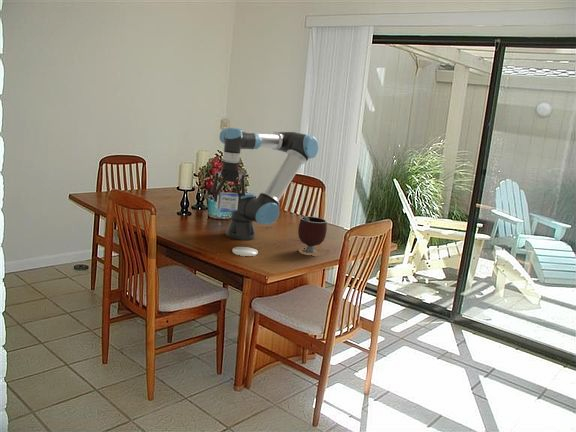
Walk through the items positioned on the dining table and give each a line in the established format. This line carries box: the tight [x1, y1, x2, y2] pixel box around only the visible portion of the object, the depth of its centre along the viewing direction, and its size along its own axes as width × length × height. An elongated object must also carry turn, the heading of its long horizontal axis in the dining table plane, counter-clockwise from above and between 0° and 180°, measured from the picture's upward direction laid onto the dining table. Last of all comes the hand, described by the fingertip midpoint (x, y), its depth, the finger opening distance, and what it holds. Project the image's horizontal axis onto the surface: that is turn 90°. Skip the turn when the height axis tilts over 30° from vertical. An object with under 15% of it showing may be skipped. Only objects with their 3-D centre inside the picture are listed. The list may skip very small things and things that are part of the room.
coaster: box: [232, 246, 259, 257], centre depth 264 cm, size 12×12×1 cm
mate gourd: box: [297, 214, 328, 253], centre depth 276 cm, size 16×14×20 cm
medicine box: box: [216, 191, 237, 213], centre depth 263 cm, size 8×4×9 cm, turn 117°
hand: (226, 209), depth 263 cm, fingers closed on medicine box, 8 cm apart
